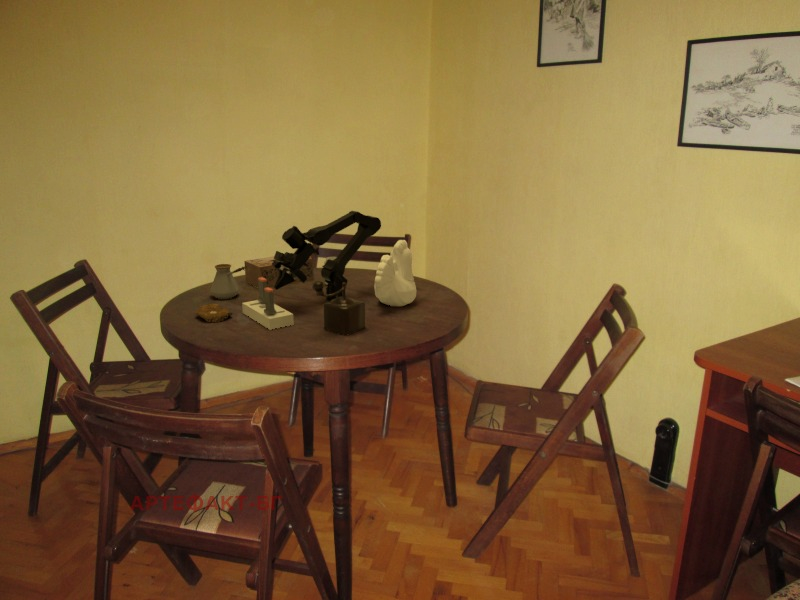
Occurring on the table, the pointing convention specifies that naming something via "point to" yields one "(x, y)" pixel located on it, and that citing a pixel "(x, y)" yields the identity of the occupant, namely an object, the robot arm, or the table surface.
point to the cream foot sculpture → (396, 277)
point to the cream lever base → (269, 321)
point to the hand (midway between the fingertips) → (275, 288)
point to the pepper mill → (341, 311)
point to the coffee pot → (225, 282)
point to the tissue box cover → (271, 271)
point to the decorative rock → (213, 313)
